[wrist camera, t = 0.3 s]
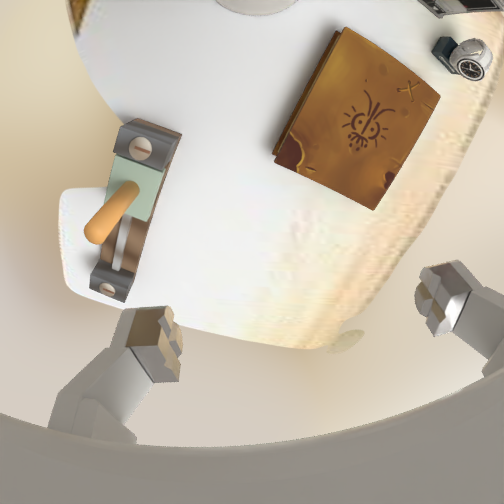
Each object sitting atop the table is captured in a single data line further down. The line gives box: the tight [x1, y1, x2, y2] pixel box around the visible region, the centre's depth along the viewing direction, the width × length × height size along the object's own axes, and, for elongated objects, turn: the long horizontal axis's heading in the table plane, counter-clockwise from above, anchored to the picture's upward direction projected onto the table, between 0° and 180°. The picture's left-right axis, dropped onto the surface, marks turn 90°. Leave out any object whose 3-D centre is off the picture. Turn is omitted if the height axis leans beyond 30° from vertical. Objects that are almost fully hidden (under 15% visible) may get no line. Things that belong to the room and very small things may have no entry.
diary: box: [272, 27, 440, 211], centre depth 38 cm, size 23×19×6 cm
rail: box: [89, 118, 182, 303], centre depth 46 cm, size 33×8×8 cm, turn 154°
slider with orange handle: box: [84, 154, 166, 244], centre depth 37 cm, size 9×8×15 cm
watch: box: [431, 37, 493, 81], centre depth 27 cm, size 6×8×11 cm
